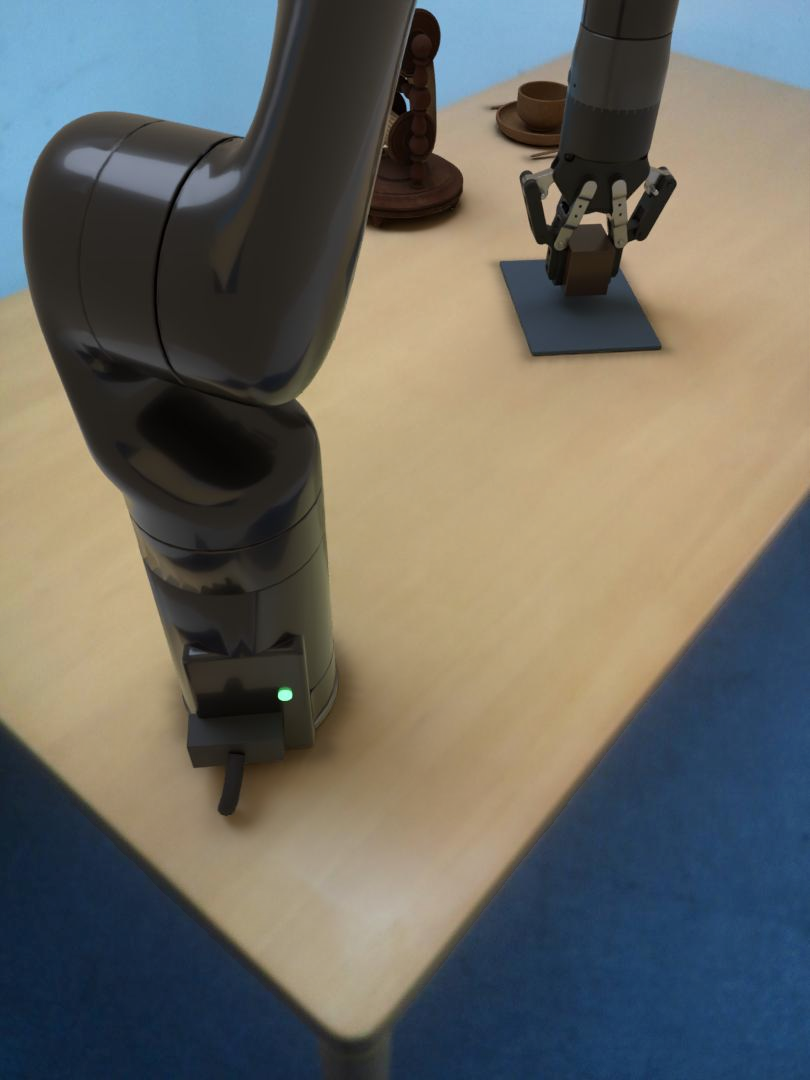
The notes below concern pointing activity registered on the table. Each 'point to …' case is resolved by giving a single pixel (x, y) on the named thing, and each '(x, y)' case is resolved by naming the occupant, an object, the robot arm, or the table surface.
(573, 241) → the walnut block
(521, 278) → the grey mat
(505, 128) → the place setting
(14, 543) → the table surface
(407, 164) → the brown wooden upright stand
